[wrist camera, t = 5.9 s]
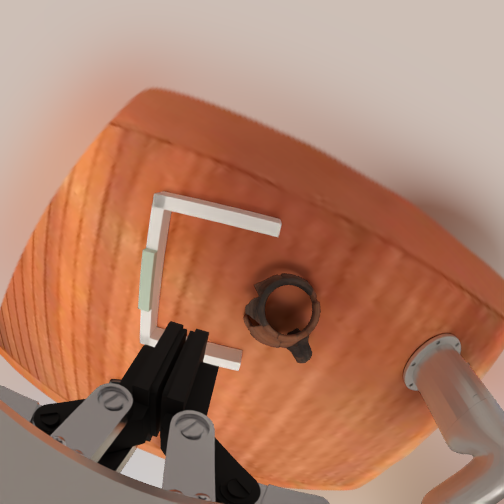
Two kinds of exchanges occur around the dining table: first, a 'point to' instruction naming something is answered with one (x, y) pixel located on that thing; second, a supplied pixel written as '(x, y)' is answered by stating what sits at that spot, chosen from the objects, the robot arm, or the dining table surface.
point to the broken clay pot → (268, 336)
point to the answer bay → (156, 253)
